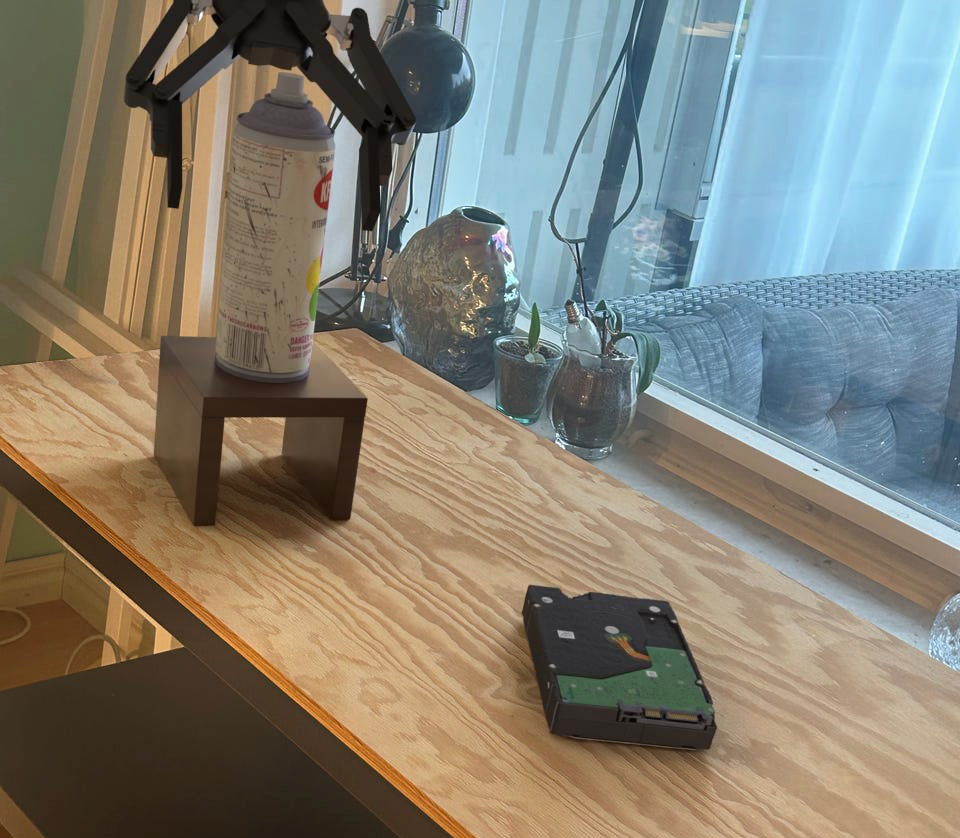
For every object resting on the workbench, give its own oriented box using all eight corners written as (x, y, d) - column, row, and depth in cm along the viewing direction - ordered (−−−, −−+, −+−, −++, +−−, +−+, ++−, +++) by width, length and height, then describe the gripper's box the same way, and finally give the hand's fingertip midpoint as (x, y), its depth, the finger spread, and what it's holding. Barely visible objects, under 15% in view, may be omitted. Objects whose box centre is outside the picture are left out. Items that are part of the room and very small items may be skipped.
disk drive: (516, 618, 92) (548, 740, 79) (524, 582, 90) (558, 700, 78) (660, 633, 94) (713, 754, 81) (669, 598, 92) (725, 716, 79)
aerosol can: (313, 387, 95) (348, 92, 85) (215, 377, 93) (240, 75, 83) (305, 354, 101) (337, 74, 91) (213, 344, 99) (236, 58, 89)
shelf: (153, 456, 104) (160, 335, 99) (299, 454, 109) (313, 339, 104) (193, 526, 95) (203, 397, 90) (350, 520, 100) (368, 398, 95)
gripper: (421, 10, 104) (434, 256, 99) (89, -47, 96) (85, 216, 91) (448, -59, 97) (463, 202, 92) (93, -127, 89) (89, 154, 84)
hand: (275, 210), depth 92 cm, fingers open, 13 cm apart
